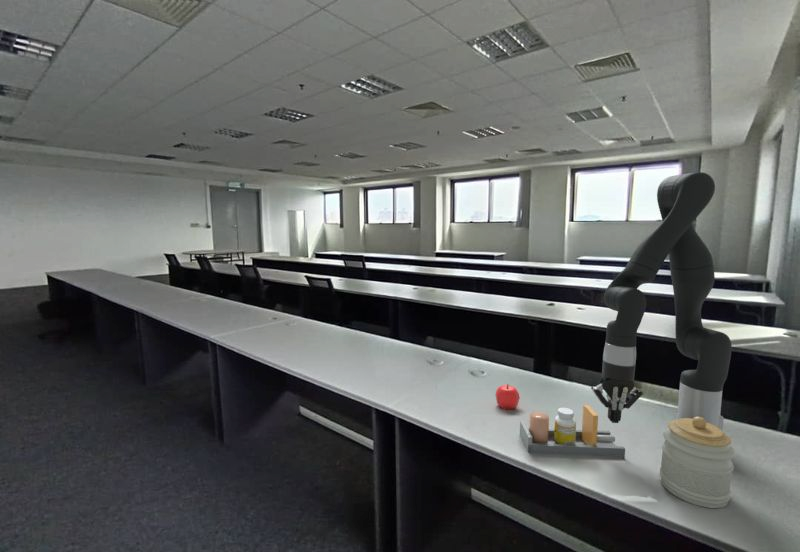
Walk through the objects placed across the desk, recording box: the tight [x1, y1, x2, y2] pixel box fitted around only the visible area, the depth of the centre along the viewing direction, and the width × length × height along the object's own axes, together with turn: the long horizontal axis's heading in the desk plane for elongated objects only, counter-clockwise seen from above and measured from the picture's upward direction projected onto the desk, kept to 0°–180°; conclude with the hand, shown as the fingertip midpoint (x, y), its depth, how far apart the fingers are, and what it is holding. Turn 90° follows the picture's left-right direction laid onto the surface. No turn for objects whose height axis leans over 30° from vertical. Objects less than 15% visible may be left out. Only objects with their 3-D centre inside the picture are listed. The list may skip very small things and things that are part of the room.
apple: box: [495, 383, 520, 411], centre depth 129 cm, size 8×8×8 cm
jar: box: [659, 417, 736, 509], centre depth 87 cm, size 13×13×18 cm
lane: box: [519, 420, 626, 460], centre depth 105 cm, size 25×9×5 cm, turn 86°
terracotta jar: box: [528, 411, 550, 444], centre depth 105 cm, size 5×5×8 cm
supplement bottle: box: [553, 407, 577, 445], centre depth 104 cm, size 5×5×10 cm
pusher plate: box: [581, 404, 616, 446], centre depth 104 cm, size 7×6×10 cm
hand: (613, 421), depth 103 cm, fingers closed
